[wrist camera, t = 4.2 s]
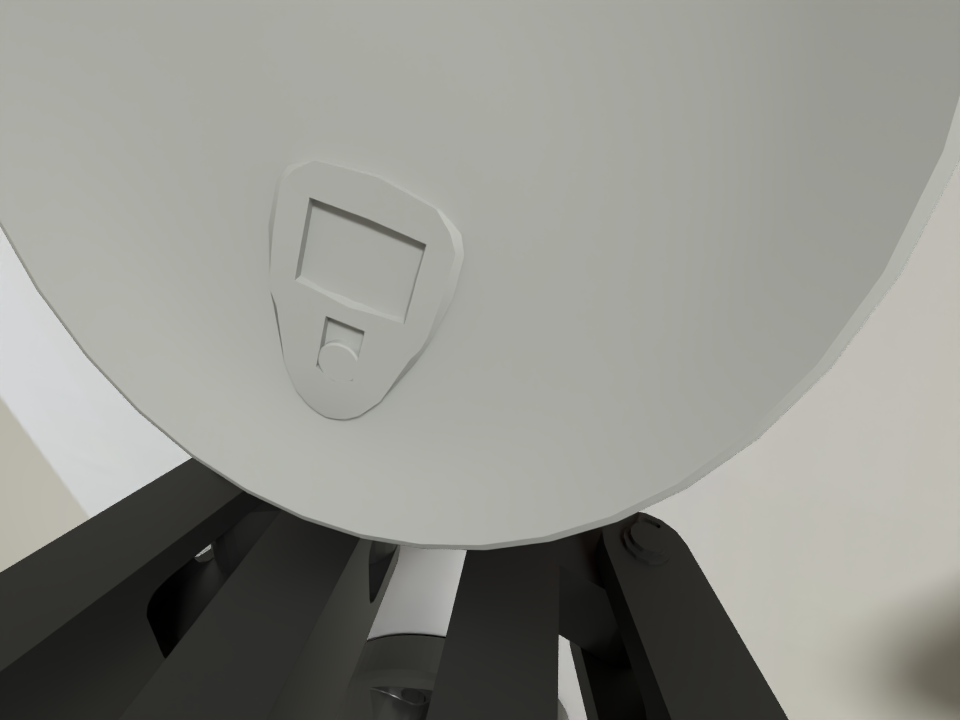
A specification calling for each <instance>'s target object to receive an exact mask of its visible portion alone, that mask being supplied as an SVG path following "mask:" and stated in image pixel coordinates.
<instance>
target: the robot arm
mask: <svg viewBox="0 0 960 720" xmlns="http://www.w3.org/2000/svg"><path fill="white" fill-rule="evenodd" d="M210 544H211V549H210V550H208V551H207V552H205V553H204V554H202V555H200V556H199V557H195V556H196V555H197V554H198V553H200V552H201V551H202V550H203V549H205V548H206V547H207V546H208V545H210ZM399 550H400V545H398V544H392V543H387V542H381V541H375V540H369V539H363V538H360V537H357V536H353V535H350V534H347V533H344V532H341V531H338V530H335V529H332V528H328V527H325V526H322V525H319V524H316V523H313V522H310V521H306V520H304V519H301V518H299V517H297V516H295V515H293V514H291V513H289V512H287V511H285V510H283V509H280V508H278V507H276V506H274V505H272V504H270V503H268V502H266V501H264V500H262V499H259V498H257V497H255V496H253V495H251V494H249V493H247V492H245V491H244V490H242V489H241V488H239V487H238V486H236V485H235V484H233V483H231V482H230V481H228V480H227V479H225V478H224V477H222V476H221V475H219V474H217V473H216V472H214V471H213V470H211V469H210V468H208V467H207V466H205V465H204V464H202V463H200V462H199V461H197V460H196V459H194V458H191V459H189V460H188V461H186V462H184V463H183V464H181V465H179V466H178V467H176V468H174V469H173V470H171V471H169V472H168V473H166V474H164V475H162V476H161V477H159V478H157V479H156V480H154V481H152V482H151V483H149V484H147V485H146V486H144V487H142V488H141V489H139V490H137V491H136V492H134V493H132V494H131V495H129V496H127V497H126V498H124V499H122V500H121V501H119V502H117V503H116V504H114V505H112V506H111V507H109V508H107V509H106V510H104V511H102V512H101V513H99V514H97V515H96V516H94V517H92V518H91V519H89V520H87V521H86V522H84V523H83V524H81V525H79V526H77V527H76V528H74V529H72V530H71V531H69V532H67V533H66V534H64V535H62V536H61V537H59V538H57V539H56V540H54V541H53V542H51V543H49V544H47V545H46V546H44V547H42V548H41V549H39V550H37V551H36V552H34V553H32V554H31V555H29V556H27V557H26V558H24V559H22V560H21V561H19V562H17V563H16V564H14V565H12V566H11V567H9V568H7V569H6V570H4V571H2V572H1V573H0V720H569V719H568V716H567V713H566V711H565V709H564V707H563V705H562V704H561V702H560V701H559V699H558V640H559V635H561V636H563V637H564V638H566V639H568V640H569V641H570V648H571V652H572V656H573V661H574V665H575V669H576V673H577V678H578V682H579V686H580V690H581V694H582V699H583V703H584V707H585V711H586V716H587V720H788V718H787V716H786V714H785V713H784V711H783V709H782V708H781V706H780V704H779V702H778V701H777V699H776V697H775V695H774V694H773V692H772V690H771V689H770V687H769V685H768V683H767V682H766V680H765V678H764V677H763V675H762V673H761V671H760V670H759V668H758V666H757V665H756V663H755V661H754V659H753V658H752V656H751V654H750V653H749V651H748V649H747V647H746V646H745V644H744V642H743V640H742V639H741V637H740V635H739V634H738V632H737V630H736V628H735V627H734V625H733V623H732V622H731V620H730V618H729V616H728V615H727V613H726V611H725V610H724V608H723V606H722V604H721V603H720V601H719V599H718V598H717V596H716V594H715V592H714V591H713V589H712V587H711V586H710V584H709V582H708V580H707V579H706V577H705V575H704V573H703V572H702V570H701V568H700V567H699V565H698V563H697V561H696V560H695V558H694V556H693V555H692V553H691V551H690V549H689V548H688V546H687V544H686V543H685V542H684V541H683V539H682V538H681V537H680V536H679V534H678V533H677V532H676V531H675V530H674V529H672V528H671V527H670V526H668V525H667V524H666V523H664V522H663V521H662V520H660V519H657V518H655V517H653V516H651V515H648V514H646V513H641V512H637V513H635V514H633V515H630V516H628V517H626V518H624V519H622V520H620V521H618V522H615V523H611V524H608V525H605V526H601V527H598V528H594V529H591V530H588V531H584V532H581V533H578V534H574V535H571V536H567V537H564V538H561V539H557V540H554V541H550V542H543V543H535V544H528V545H520V546H513V547H505V548H497V549H490V550H467V552H466V556H465V561H464V565H463V569H462V573H461V577H460V581H459V585H458V589H457V593H456V598H455V602H454V606H453V610H452V614H451V618H450V622H449V626H448V631H447V635H446V639H445V638H439V637H431V636H419V635H403V636H391V637H384V638H380V639H376V640H372V641H369V642H367V643H365V642H366V640H367V637H368V635H369V632H370V629H371V627H372V624H373V622H374V619H375V617H376V614H377V612H378V609H379V607H380V604H381V602H382V599H383V597H384V594H385V592H386V589H387V587H388V584H389V582H390V579H391V577H392V574H393V572H394V569H395V567H396V564H397V562H398V556H399Z"/></svg>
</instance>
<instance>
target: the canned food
mask: <svg viewBox="0 0 960 720" xmlns="http://www.w3.org/2000/svg"><path fill="white" fill-rule="evenodd" d="M959 160H960V0H0V227H1V228H2V230H3V232H4V234H5V235H6V237H7V239H8V241H9V242H10V244H11V246H12V248H13V249H14V251H15V253H16V255H17V256H18V258H19V260H20V262H21V263H22V265H23V267H24V268H25V270H26V272H27V274H28V275H29V277H30V279H31V281H32V282H33V284H34V286H35V288H36V289H37V291H38V292H39V294H40V295H41V296H42V298H43V299H44V300H45V302H46V303H47V304H48V306H49V307H50V308H51V310H52V311H53V312H54V314H55V315H56V317H57V318H58V319H59V321H60V322H61V323H62V325H63V326H64V327H65V329H66V330H67V331H68V333H69V334H70V335H71V337H72V338H73V339H74V341H75V342H76V344H77V345H78V346H79V348H80V349H81V350H82V352H83V353H84V354H85V356H86V357H87V358H88V359H89V360H90V361H91V362H92V363H93V364H94V366H95V367H96V368H97V369H98V370H99V371H100V372H101V373H102V374H103V375H104V376H105V377H106V378H107V379H108V380H109V381H110V383H111V384H112V385H113V386H114V387H115V388H116V389H117V390H118V391H119V392H120V393H121V394H122V395H123V396H124V397H125V399H126V400H127V401H128V402H129V403H130V404H131V405H132V406H133V407H134V408H135V409H136V410H137V411H138V412H139V413H140V414H141V415H142V416H144V417H145V418H146V419H147V420H148V421H150V422H151V423H152V424H153V425H154V426H155V427H157V428H158V429H159V430H160V431H161V432H163V433H164V434H165V435H166V436H167V437H169V438H170V439H171V440H172V441H173V442H175V443H176V444H177V445H178V446H179V447H181V448H182V449H183V450H184V451H185V452H187V453H188V454H189V455H190V456H191V457H193V458H194V459H196V460H197V461H199V462H200V463H202V464H204V465H205V466H207V467H208V468H210V469H211V470H213V471H214V472H216V473H217V474H219V475H221V476H222V477H224V478H225V479H227V480H228V481H230V482H231V483H233V484H235V485H236V486H238V487H239V488H241V489H242V490H244V491H245V492H247V493H249V494H251V495H253V496H255V497H257V498H259V499H262V500H264V501H266V502H268V503H270V504H272V505H274V506H276V507H278V508H280V509H283V510H285V511H287V512H289V513H291V514H293V515H295V516H297V517H299V518H301V519H304V520H306V521H310V522H313V523H316V524H319V525H322V526H325V527H328V528H332V529H335V530H338V531H341V532H344V533H347V534H350V535H353V536H357V537H360V538H363V539H369V540H375V541H381V542H387V543H392V544H398V545H404V546H410V547H416V548H422V549H460V550H490V549H497V548H505V547H513V546H520V545H528V544H535V543H543V542H550V541H554V540H557V539H561V538H564V537H567V536H571V535H574V534H578V533H581V532H584V531H588V530H591V529H594V528H598V527H601V526H605V525H608V524H611V523H615V522H618V521H620V520H622V519H624V518H626V517H628V516H630V515H633V514H635V513H637V512H639V511H641V510H643V509H645V508H647V507H649V506H651V505H653V504H656V503H658V502H660V501H662V500H664V499H666V498H668V497H670V496H672V495H674V494H676V493H678V492H681V491H683V490H685V489H687V488H688V487H690V486H691V485H693V484H694V483H696V482H697V481H698V480H700V479H701V478H703V477H704V476H706V475H707V474H709V473H710V472H711V471H713V470H714V469H716V468H717V467H719V466H720V465H721V464H723V463H724V462H726V461H727V460H729V459H730V458H732V457H733V456H734V455H736V454H737V453H739V452H740V451H742V450H743V449H744V448H746V447H747V446H749V445H750V444H752V443H753V442H754V441H756V440H757V439H759V438H760V437H761V436H762V435H763V434H764V433H765V432H766V431H767V430H768V429H769V428H770V427H771V426H772V425H773V424H774V423H775V422H776V421H777V420H778V419H779V418H780V417H781V416H783V415H784V414H785V413H786V412H787V411H788V410H789V409H790V408H791V407H792V406H793V405H794V404H795V403H796V402H797V401H798V400H799V399H800V398H801V397H802V396H803V395H804V394H805V393H806V392H807V391H808V390H809V389H810V388H811V387H812V386H813V385H814V384H815V383H817V382H818V381H819V380H820V379H821V378H822V377H823V376H824V375H825V374H826V373H827V372H828V371H829V370H830V369H831V368H832V366H833V365H834V364H835V362H836V361H837V360H838V358H839V357H840V356H841V354H842V353H843V352H844V350H845V349H846V348H847V346H848V345H849V343H850V342H851V341H852V339H853V338H854V337H855V335H856V334H857V333H858V331H859V330H860V329H861V327H862V326H863V325H864V323H865V322H866V321H867V319H868V318H869V316H870V315H871V314H872V312H873V311H874V310H875V308H876V307H877V306H878V304H879V303H880V302H881V300H882V299H883V298H884V296H885V295H886V294H887V292H888V291H889V290H890V288H891V287H892V285H893V284H894V283H895V281H896V280H897V279H898V277H899V276H900V275H901V273H902V271H903V269H904V267H905V265H906V263H907V261H908V259H909V258H910V256H911V254H912V252H913V250H914V248H915V246H916V244H917V242H918V240H919V238H920V236H921V234H922V232H923V230H924V228H925V226H926V224H927V222H928V220H929V219H930V217H931V215H932V213H933V211H934V209H935V207H936V205H937V203H938V201H939V199H940V197H941V195H942V193H943V191H944V189H945V187H946V185H947V183H948V181H949V180H950V178H951V176H952V174H953V172H954V170H955V168H956V166H957V164H958V162H959Z"/></svg>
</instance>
